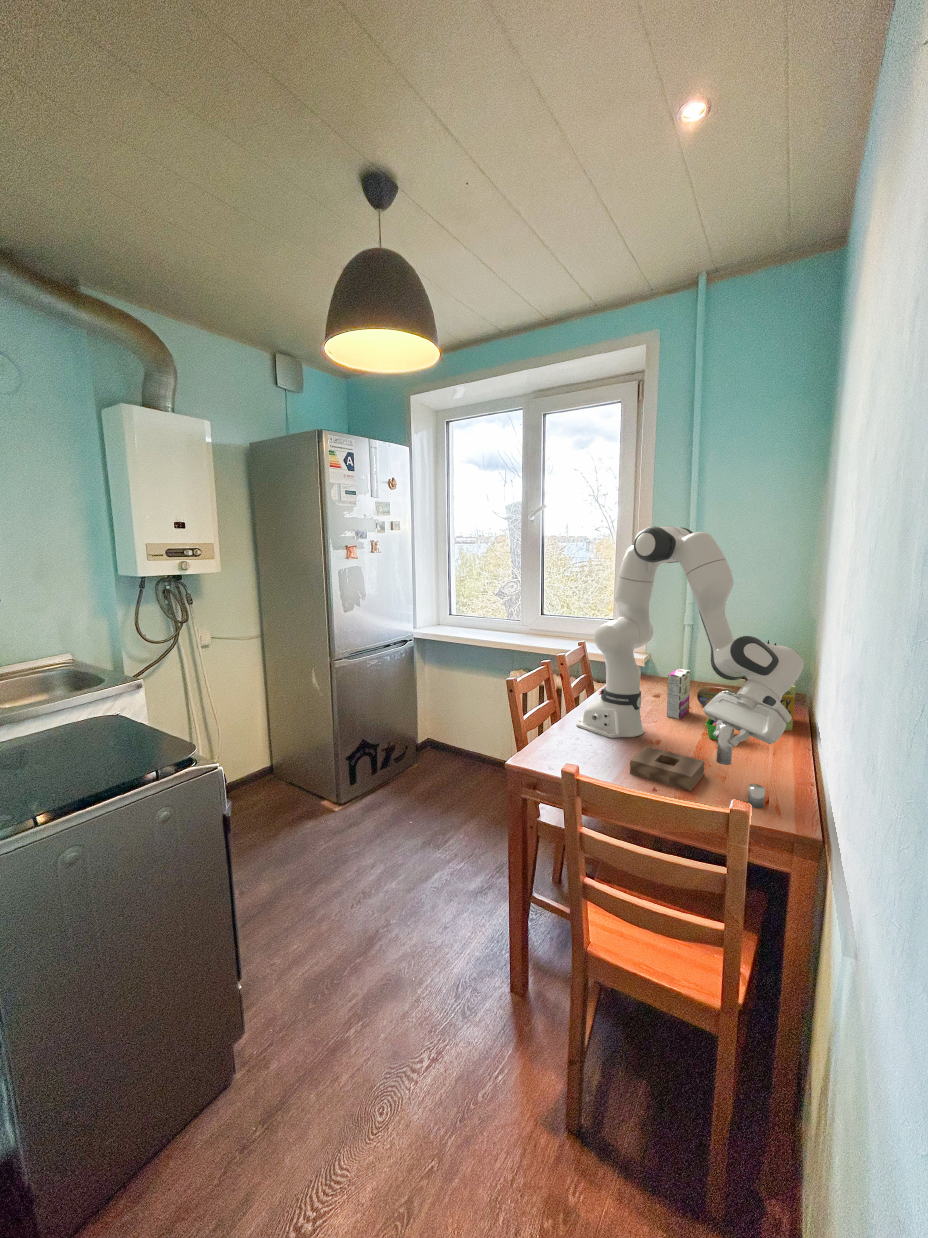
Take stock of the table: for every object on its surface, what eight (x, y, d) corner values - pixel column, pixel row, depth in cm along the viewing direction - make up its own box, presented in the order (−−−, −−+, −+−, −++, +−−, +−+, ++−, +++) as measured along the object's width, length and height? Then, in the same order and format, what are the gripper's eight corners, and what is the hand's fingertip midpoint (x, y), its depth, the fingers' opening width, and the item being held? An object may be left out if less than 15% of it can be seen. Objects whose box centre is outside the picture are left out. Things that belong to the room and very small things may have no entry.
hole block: (629, 773, 134) (630, 759, 133) (645, 759, 142) (646, 746, 142) (690, 791, 123) (691, 776, 123) (703, 774, 132) (704, 760, 132)
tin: (696, 706, 189) (697, 685, 188) (697, 704, 192) (698, 683, 191) (740, 712, 181) (741, 691, 180) (741, 710, 183) (742, 689, 182)
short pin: (746, 805, 116) (747, 788, 115) (749, 799, 119) (750, 782, 118) (762, 810, 114) (763, 792, 113) (765, 804, 116) (766, 787, 116)
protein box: (757, 728, 165) (760, 684, 163) (747, 713, 180) (749, 673, 177) (793, 731, 162) (796, 687, 160) (779, 716, 176) (782, 675, 174)
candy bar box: (675, 709, 186) (677, 668, 184) (689, 712, 183) (691, 670, 180) (665, 717, 178) (667, 674, 175) (679, 720, 174) (681, 676, 172)
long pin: (714, 762, 124) (717, 725, 123) (718, 757, 127) (721, 721, 125) (729, 766, 122) (732, 728, 121) (732, 761, 125) (735, 725, 123)
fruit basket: (709, 728, 166) (711, 696, 164) (739, 733, 161) (741, 701, 159) (704, 739, 157) (705, 705, 155) (734, 745, 152) (737, 710, 150)
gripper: (717, 682, 134) (687, 719, 132) (786, 705, 114) (751, 749, 113) (728, 695, 136) (698, 732, 134) (798, 720, 117) (764, 764, 115)
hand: (723, 740), depth 123 cm, fingers closed on long pin, 3 cm apart
